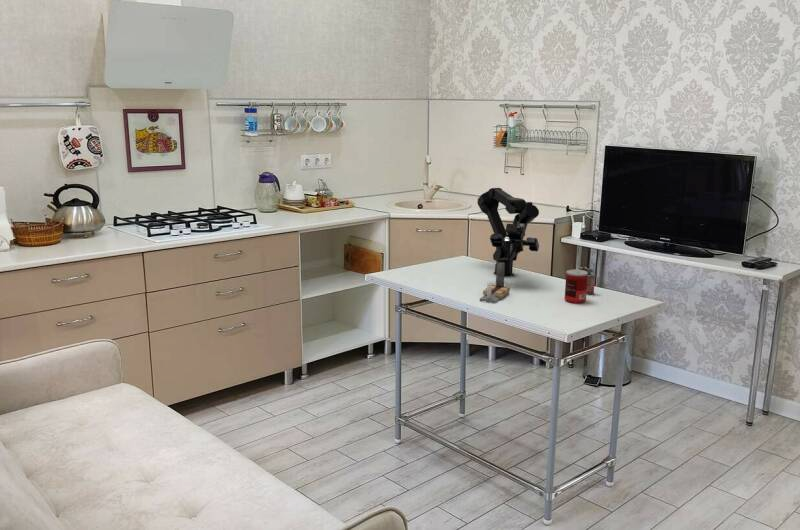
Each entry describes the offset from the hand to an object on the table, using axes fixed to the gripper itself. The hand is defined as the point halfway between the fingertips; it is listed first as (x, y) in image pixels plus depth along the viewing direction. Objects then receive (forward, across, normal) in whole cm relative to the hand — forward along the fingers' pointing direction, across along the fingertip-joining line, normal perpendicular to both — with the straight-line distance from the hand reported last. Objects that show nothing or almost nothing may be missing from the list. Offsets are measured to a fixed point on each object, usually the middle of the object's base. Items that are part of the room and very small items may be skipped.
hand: (508, 260), depth 274 cm
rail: (+18, 0, -2) cm, 18 cm away
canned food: (+11, +28, +5) cm, 30 cm away
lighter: (+2, +28, +14) cm, 31 cm away
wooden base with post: (+16, 0, -2) cm, 16 cm away
